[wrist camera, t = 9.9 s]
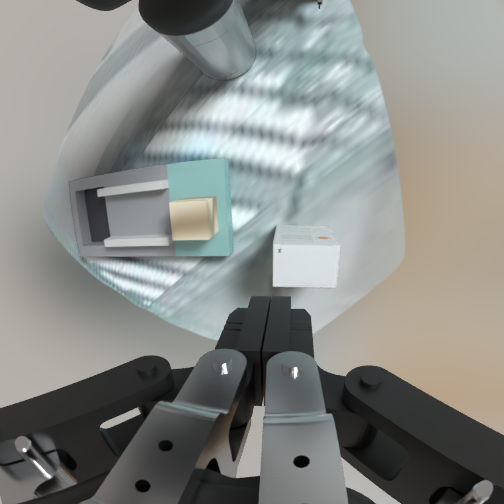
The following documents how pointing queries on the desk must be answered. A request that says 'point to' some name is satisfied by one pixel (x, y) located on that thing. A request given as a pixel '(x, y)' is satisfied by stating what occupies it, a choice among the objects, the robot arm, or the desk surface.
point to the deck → (149, 210)
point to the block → (194, 218)
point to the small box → (305, 257)
